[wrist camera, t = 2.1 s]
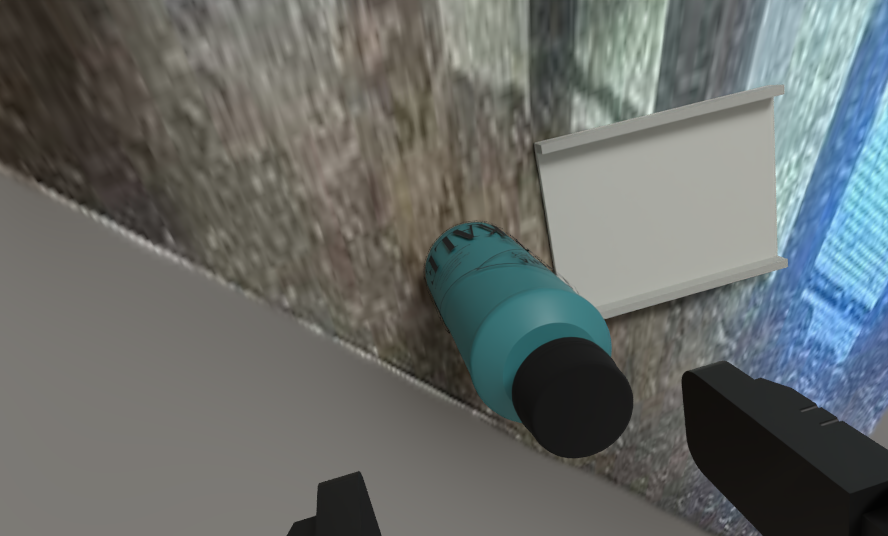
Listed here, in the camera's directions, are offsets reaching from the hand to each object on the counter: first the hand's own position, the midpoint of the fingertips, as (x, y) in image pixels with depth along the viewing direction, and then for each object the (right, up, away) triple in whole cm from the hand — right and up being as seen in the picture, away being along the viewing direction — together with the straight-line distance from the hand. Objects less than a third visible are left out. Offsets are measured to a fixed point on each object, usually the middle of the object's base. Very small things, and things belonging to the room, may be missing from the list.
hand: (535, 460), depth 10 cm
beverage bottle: (0, +4, +28) cm, 29 cm away
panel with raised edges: (+14, +8, +30) cm, 33 cm away
